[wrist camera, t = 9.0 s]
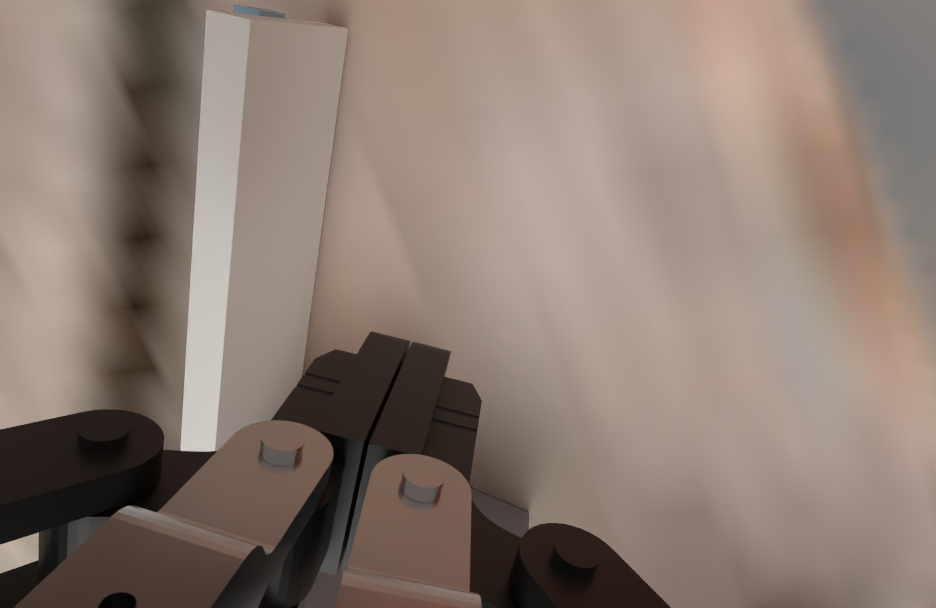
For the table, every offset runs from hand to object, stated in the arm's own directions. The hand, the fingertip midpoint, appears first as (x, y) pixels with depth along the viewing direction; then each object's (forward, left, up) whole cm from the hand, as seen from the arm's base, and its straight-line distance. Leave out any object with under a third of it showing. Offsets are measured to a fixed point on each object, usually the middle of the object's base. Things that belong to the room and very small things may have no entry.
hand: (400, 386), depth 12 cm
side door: (-2, +5, -10) cm, 11 cm away
